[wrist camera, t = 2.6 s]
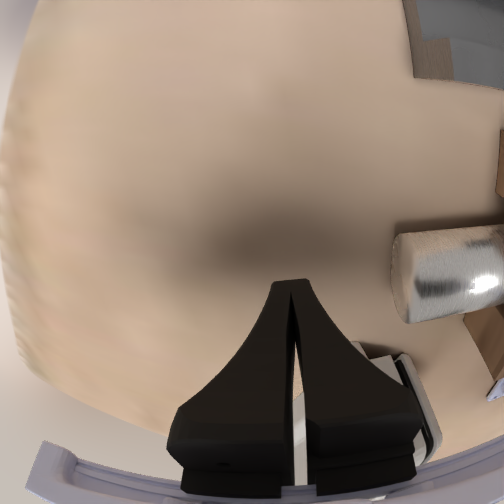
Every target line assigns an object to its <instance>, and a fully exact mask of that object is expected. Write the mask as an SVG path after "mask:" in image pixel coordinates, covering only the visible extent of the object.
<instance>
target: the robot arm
mask: <svg viewBox="0 0 504 504" xmlns="http://www.w3.org/2000/svg"><path fill="white" fill-rule="evenodd" d="M295 342H296V348H297V354H298V360H299V366H300V372H301V378H302V384H303V392H304V405H305V427H306V455H307V485H298V486H295V467H294V427H293V378H294V361H295ZM502 396H504V378H502V379H499V380H498V382H497V383H496V385H495V386H494V388H493V389H492V391H491V392H490V394H489V395H488V396H487V398H486V399H487V401H491V400H494V399H497V398H499V397H502ZM423 423H424V419H423V415H422V411H421V409H420V406H419V404H418V402H417V400H416V398H415V396H414V394H413V392H412V391H411V390H410V389H409V388H407V387H405V386H404V385H402V384H400V383H399V382H397V381H396V380H394V379H393V378H391V377H390V376H388V375H387V374H386V373H384V372H383V371H382V370H380V369H379V368H378V367H377V366H375V365H374V364H373V363H372V362H371V361H370V360H368V359H367V358H366V357H365V356H364V355H363V354H362V353H360V352H359V351H358V350H357V349H356V348H355V347H354V346H353V345H352V344H351V342H350V341H349V340H348V339H347V338H346V337H345V336H344V335H343V334H342V332H341V331H340V330H339V329H338V327H337V326H336V325H335V324H334V322H333V321H332V320H331V318H330V317H329V316H328V314H327V313H326V311H325V310H324V308H323V307H322V305H321V303H320V302H319V300H318V298H317V297H316V295H315V293H314V291H313V289H312V287H311V284H310V282H309V280H308V279H306V278H305V279H295V280H284V281H274V282H273V283H272V285H271V289H270V292H269V295H268V298H267V300H266V303H265V305H264V307H263V309H262V312H261V314H260V316H259V318H258V320H257V322H256V323H255V325H254V327H253V328H252V330H251V332H250V334H249V335H248V337H247V338H246V340H245V341H244V343H243V344H242V346H241V347H240V348H239V350H238V351H237V353H236V354H235V355H234V356H233V358H232V359H231V360H230V361H229V362H228V364H227V365H226V366H225V367H224V368H223V369H222V370H221V371H220V372H219V373H218V374H217V375H216V376H215V377H214V378H213V379H212V380H211V381H210V382H209V383H208V384H207V385H206V386H205V387H204V388H203V389H202V390H201V391H199V392H198V393H197V394H196V395H194V396H193V397H192V398H191V399H189V400H188V401H187V402H185V403H184V404H183V405H181V406H180V407H179V408H178V410H177V413H176V415H175V417H174V420H173V422H172V425H171V428H170V433H169V437H168V441H167V448H166V449H167V450H168V452H169V453H170V455H171V456H172V457H173V458H174V459H175V460H176V461H177V462H178V463H179V464H180V465H181V466H183V468H184V469H183V475H182V481H175V480H169V479H163V478H156V477H151V476H146V475H141V474H136V473H132V472H127V471H123V470H118V469H115V468H110V467H107V466H103V465H100V464H96V463H93V462H89V461H86V460H82V459H79V458H77V456H76V455H75V454H73V453H72V452H71V451H69V450H67V449H65V448H63V447H61V446H58V445H56V444H53V443H50V442H47V441H43V442H42V445H41V447H40V449H39V452H38V454H37V457H36V459H35V462H34V464H33V467H32V470H31V472H30V475H29V478H28V481H27V483H26V486H25V489H26V490H27V491H29V492H31V493H33V494H34V495H36V496H38V497H40V498H42V499H43V500H46V501H47V502H49V503H51V504H495V503H497V502H499V501H501V500H503V499H504V434H503V435H501V436H499V437H497V438H495V439H492V440H490V441H488V442H486V443H483V444H481V445H478V446H476V447H473V448H471V449H468V450H466V451H463V452H460V453H457V454H454V455H452V456H449V457H446V458H443V459H440V460H436V461H433V462H430V463H426V464H423V465H419V466H416V467H415V462H414V457H413V454H414V452H415V446H414V442H413V440H414V438H415V437H416V435H417V434H418V432H419V431H420V429H421V428H422V426H423ZM381 496H385V498H384V499H382V500H376V501H370V500H369V499H371V498H377V497H381Z"/></svg>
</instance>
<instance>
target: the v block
mask: <svg viewBox="0 0 504 504" xmlns="http://www.w3.org/2000/svg"><path fill="white" fill-rule="evenodd" d="M403 4H404V9H405V15H406V20H407V26H408V32H409V38H410V45H411V53H412V61H413V70H414V78H421V79H432V80H442V81H450V82H458V83H465V84H471V85H478V86H483V87H489V88H494V89H499V90H503V91H504V0H403Z"/></svg>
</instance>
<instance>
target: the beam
mask: <svg viewBox="0 0 504 504" xmlns="http://www.w3.org/2000/svg"><path fill="white" fill-rule="evenodd" d="M496 193H497V194H499V195H500V196H502V197H503V198H504V130H501V135H500V154H499V166H498V176H497V185H496ZM463 322H464V323H465V325H466V327H467V329H468V330H469V332H470V334H471V336H472V338H473V340H474V341H475V343H476V345H477V347H478V349H479V351H480V353H481V355H482V357H483V359H484V361H485V363H486V365H487V367H488V369H489V371H490V373H491V375H492V377H493V380H494V381H497V380H499V379H502V378H504V304H501V305H497V306H493V307H489V308H485V309H480V310H476V311H472V312H467V313H466V315H465V318H464V321H463Z"/></svg>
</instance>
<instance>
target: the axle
mask: <svg viewBox="0 0 504 504" xmlns="http://www.w3.org/2000/svg"><path fill="white" fill-rule="evenodd" d="M390 272H391V284H392V291H393V297H394V301H395V305H396V308H397V311H398V313H399V315H400V317H401V319H402V320H403V321H404V322H405V323H407V324H410V323H416V322H422V321H427V320H433V319H438V318H443V317H448V316H453V315H458V314H463V313H467V312H472V311H476V310H480V309H485V308H489V307H493V306H497V305H501V304H504V224H499V225H488V226H477V227H466V228H455V229H444V230H433V231H422V232H412V233H401V234H398V235H397V236H396V238H395V239H394V242H393V249H392V260H391V269H390Z"/></svg>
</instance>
